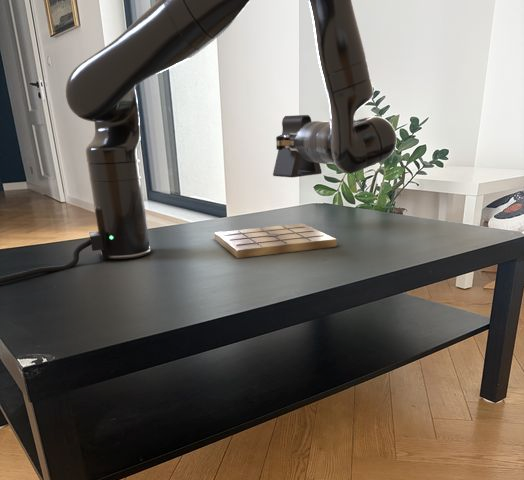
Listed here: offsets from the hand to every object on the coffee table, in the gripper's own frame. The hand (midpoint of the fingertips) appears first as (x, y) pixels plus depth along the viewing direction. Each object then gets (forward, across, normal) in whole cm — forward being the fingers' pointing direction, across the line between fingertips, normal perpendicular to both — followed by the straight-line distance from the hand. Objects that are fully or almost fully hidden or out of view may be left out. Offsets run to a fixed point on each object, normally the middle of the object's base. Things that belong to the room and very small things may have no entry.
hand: (290, 140), depth 120 cm
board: (-14, +10, +19) cm, 26 cm away
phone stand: (-3, 0, +7) cm, 8 cm away
